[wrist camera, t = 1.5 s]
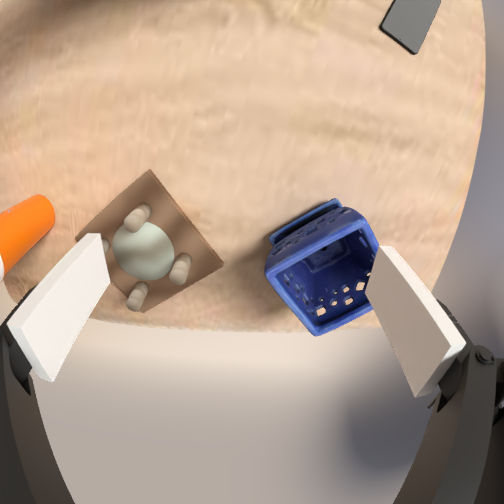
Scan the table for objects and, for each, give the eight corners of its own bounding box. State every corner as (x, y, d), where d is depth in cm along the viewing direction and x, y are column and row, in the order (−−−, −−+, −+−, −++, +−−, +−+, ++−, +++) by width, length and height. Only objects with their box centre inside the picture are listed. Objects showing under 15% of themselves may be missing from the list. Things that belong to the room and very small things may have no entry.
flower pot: (301, 291, 47) (314, 342, 37) (257, 231, 42) (261, 275, 31) (370, 251, 44) (400, 295, 33) (335, 183, 38) (366, 213, 28)
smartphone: (442, 0, 22) (416, 55, 28) (439, 1, 22) (413, 56, 29) (409, -27, 20) (379, 27, 26) (406, -25, 21) (377, 28, 27)
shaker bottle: (65, 209, 39) (-12, 273, 21) (50, 245, 42) (-15, 311, 24) (33, 179, 36) (-49, 228, 18) (20, 216, 39) (-49, 272, 21)
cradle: (78, 235, 41) (59, 252, 36) (150, 168, 37) (134, 179, 31) (144, 308, 49) (135, 332, 43) (223, 262, 44) (220, 285, 39)
